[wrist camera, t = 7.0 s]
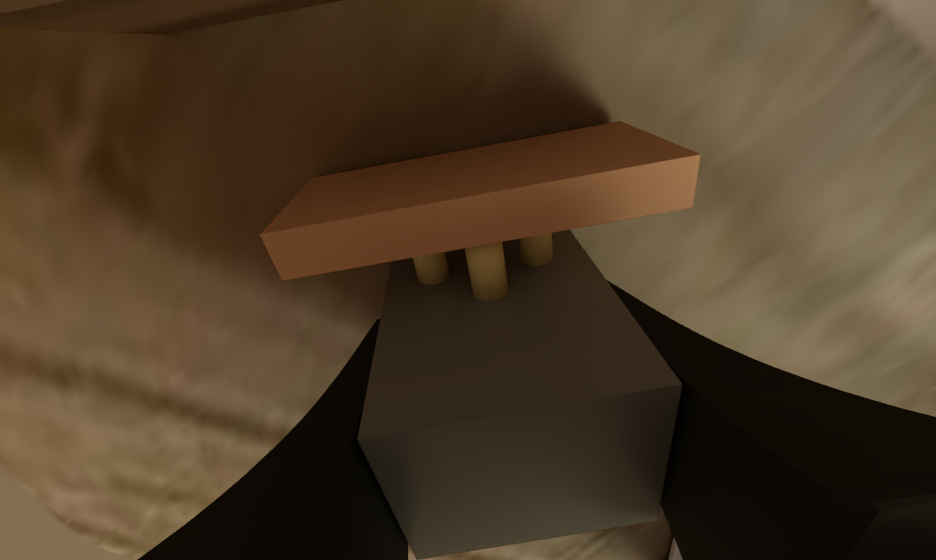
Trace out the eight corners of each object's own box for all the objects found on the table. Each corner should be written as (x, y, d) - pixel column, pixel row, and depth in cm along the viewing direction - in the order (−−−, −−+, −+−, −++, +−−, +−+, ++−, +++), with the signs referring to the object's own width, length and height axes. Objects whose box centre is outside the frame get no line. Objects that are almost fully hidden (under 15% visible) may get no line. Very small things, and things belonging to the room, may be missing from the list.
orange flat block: (617, 160, 10) (692, 207, 7) (325, 214, 11) (282, 281, 8) (619, 121, 10) (700, 154, 7) (311, 177, 10) (259, 235, 7)
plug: (569, 333, 13) (656, 520, 8) (423, 359, 13) (417, 559, 8) (564, 173, 10) (697, 304, 5) (377, 207, 10) (322, 369, 5)
